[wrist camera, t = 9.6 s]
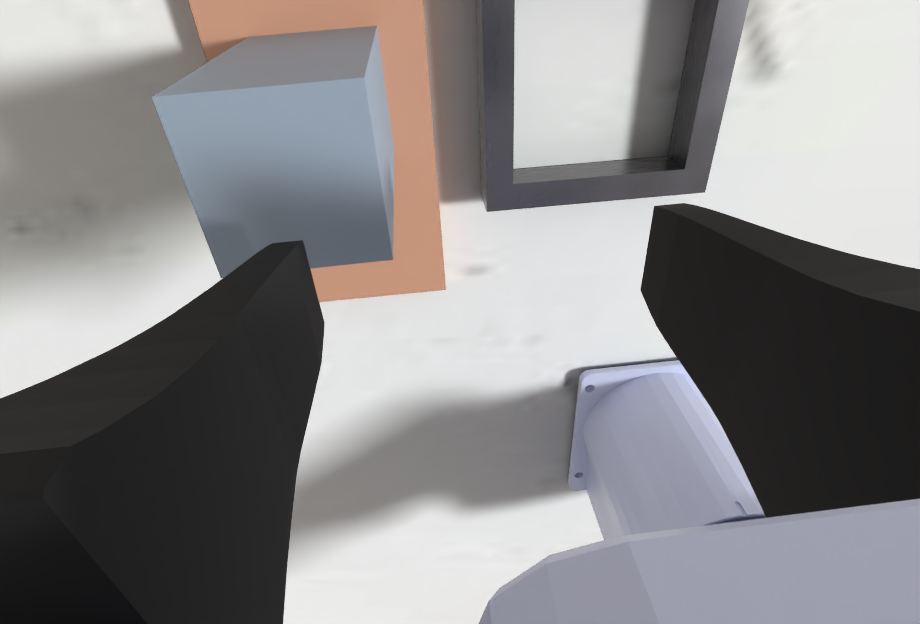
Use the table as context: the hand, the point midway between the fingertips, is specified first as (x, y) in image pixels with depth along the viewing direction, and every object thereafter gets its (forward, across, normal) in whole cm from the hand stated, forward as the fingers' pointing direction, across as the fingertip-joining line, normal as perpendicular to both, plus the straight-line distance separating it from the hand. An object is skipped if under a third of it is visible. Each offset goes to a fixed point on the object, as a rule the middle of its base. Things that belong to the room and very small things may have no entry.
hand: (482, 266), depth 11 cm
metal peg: (+10, +4, -2) cm, 10 cm away
